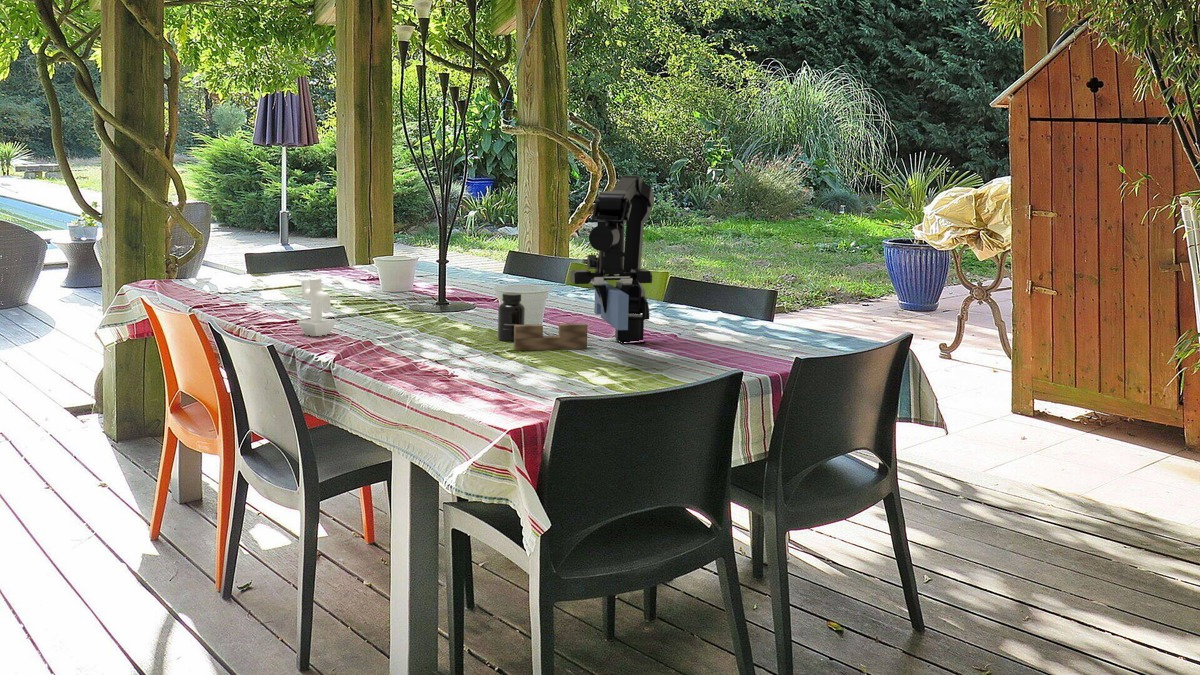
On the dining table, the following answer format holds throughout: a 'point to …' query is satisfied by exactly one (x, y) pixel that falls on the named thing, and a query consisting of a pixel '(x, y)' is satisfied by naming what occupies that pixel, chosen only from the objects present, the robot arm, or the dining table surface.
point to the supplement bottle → (510, 316)
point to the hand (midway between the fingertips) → (610, 312)
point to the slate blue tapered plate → (614, 307)
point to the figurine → (316, 308)
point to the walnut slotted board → (550, 337)
